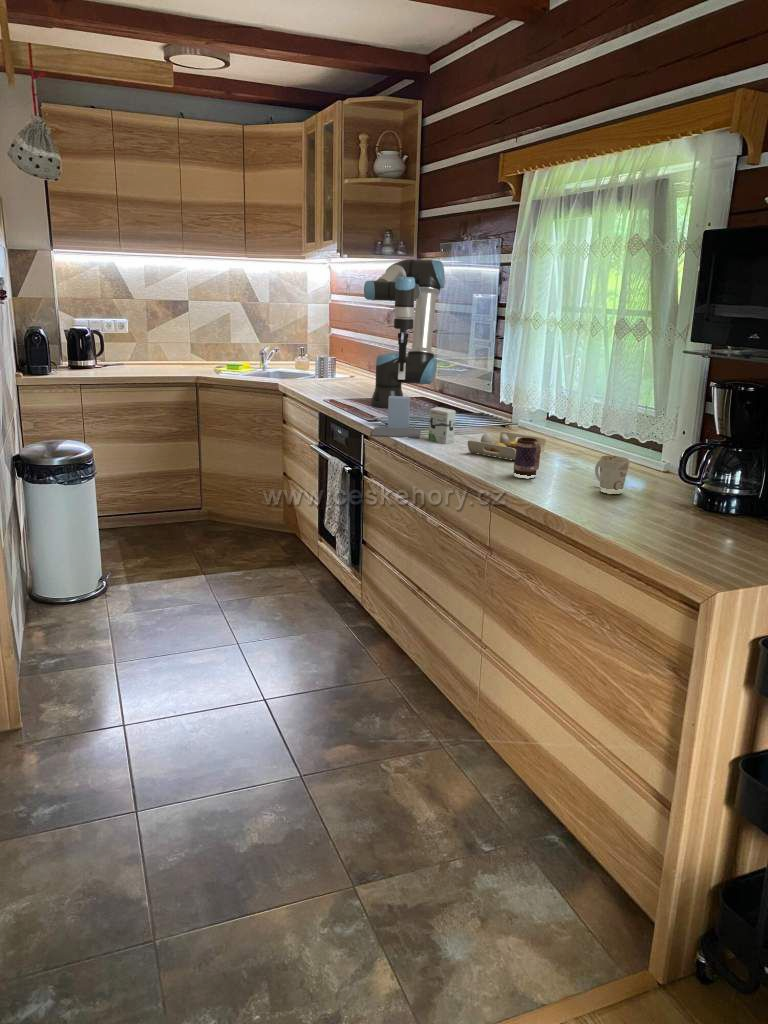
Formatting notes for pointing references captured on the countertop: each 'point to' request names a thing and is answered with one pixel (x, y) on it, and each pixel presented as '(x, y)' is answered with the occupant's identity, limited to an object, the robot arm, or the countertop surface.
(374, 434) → the mat
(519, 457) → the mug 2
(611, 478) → the mug
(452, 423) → the ink box
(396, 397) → the block
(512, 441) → the toy food set
